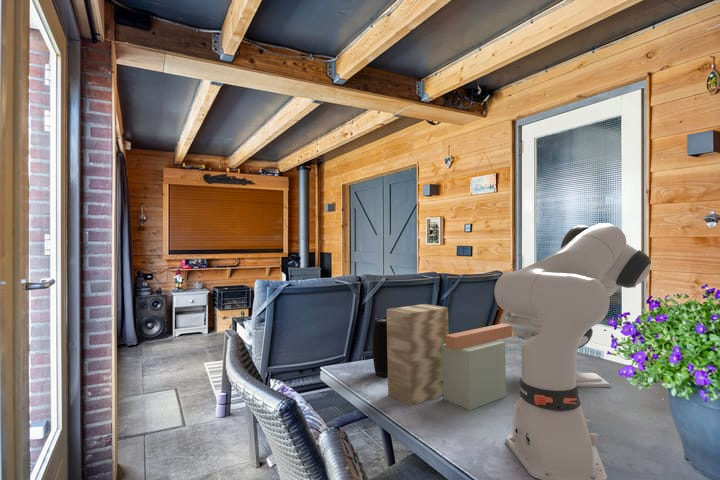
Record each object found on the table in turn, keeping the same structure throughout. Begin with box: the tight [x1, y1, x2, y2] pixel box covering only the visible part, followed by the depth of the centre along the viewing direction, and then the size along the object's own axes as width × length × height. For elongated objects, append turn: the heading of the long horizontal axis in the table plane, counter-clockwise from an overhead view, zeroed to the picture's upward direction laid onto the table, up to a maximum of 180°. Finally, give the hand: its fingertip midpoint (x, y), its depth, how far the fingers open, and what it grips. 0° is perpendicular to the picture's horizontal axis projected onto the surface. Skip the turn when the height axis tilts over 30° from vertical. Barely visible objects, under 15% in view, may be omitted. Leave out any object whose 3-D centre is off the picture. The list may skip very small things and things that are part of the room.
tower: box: [386, 303, 449, 406], centre depth 123 cm, size 16×10×26 cm, turn 125°
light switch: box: [576, 370, 612, 388], centre depth 131 cm, size 11×4×13 cm
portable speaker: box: [371, 316, 388, 378], centre depth 142 cm, size 9×9×20 cm
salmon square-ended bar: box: [445, 323, 513, 350], centre depth 121 cm, size 26×4×4 cm, turn 125°
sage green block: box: [442, 340, 507, 411], centre depth 119 cm, size 16×10×16 cm, turn 125°
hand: (518, 315), depth 132 cm, fingers open, 8 cm apart
